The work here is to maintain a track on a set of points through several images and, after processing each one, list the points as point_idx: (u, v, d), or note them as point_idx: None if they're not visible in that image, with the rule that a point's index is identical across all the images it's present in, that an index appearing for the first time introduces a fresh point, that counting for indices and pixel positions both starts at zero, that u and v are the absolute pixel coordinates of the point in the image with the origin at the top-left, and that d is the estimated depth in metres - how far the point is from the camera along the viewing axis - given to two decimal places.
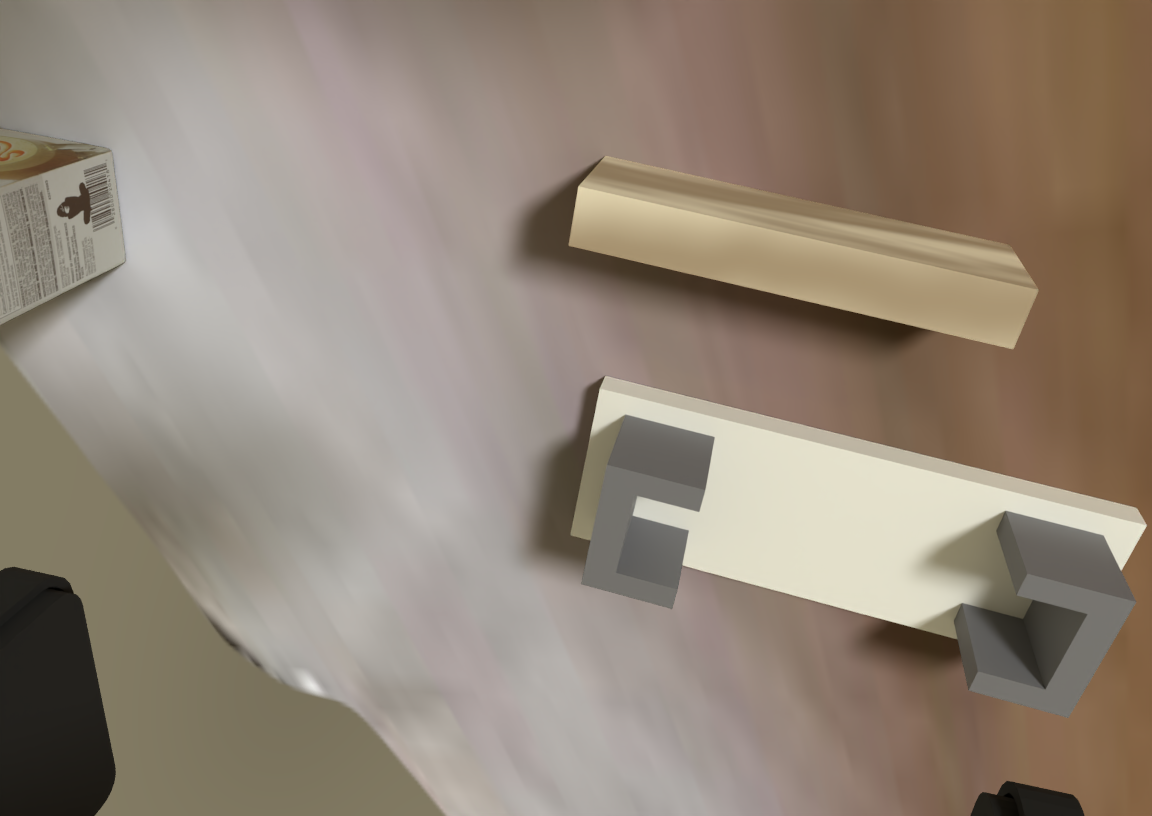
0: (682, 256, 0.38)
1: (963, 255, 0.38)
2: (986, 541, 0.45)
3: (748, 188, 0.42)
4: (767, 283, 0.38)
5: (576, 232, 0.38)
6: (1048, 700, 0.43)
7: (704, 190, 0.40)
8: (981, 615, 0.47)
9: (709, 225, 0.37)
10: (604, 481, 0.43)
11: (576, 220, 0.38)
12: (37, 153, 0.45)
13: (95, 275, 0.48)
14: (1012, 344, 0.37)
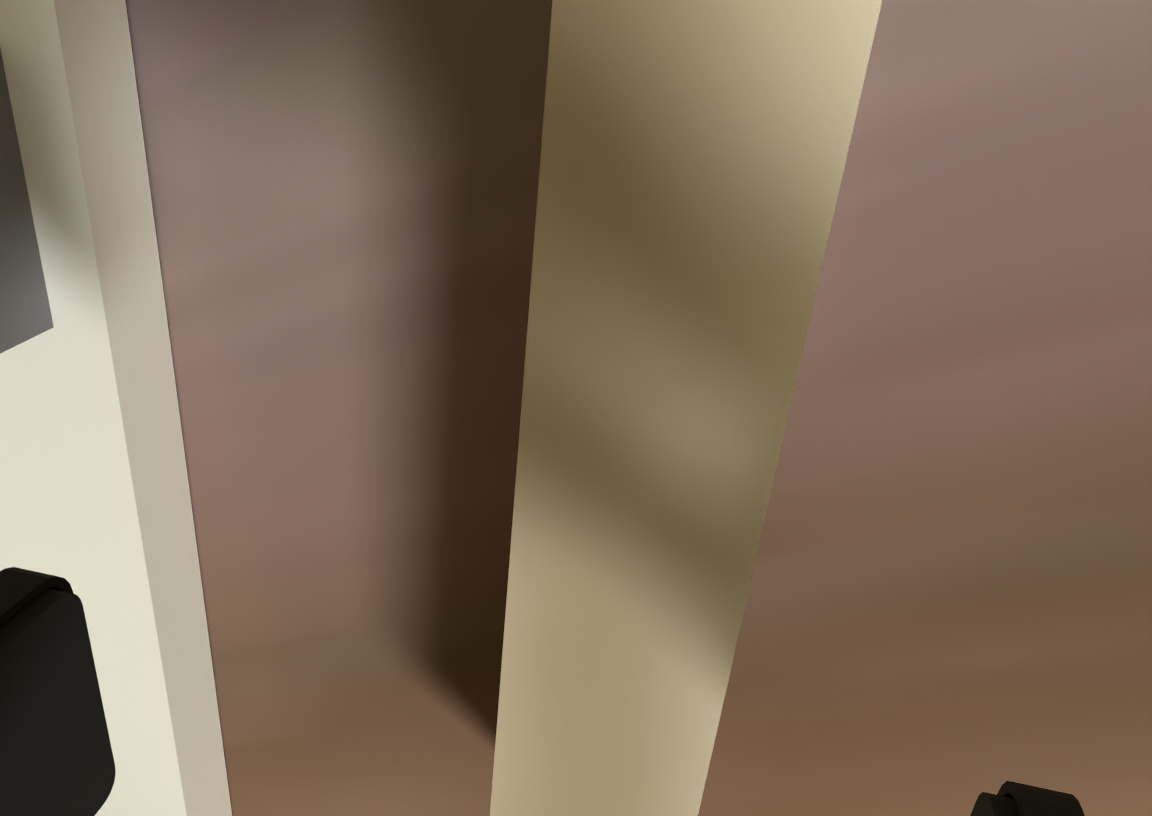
0: (594, 334, 0.09)
1: None
2: None
3: None
4: (535, 625, 0.10)
5: None
6: None
7: None
8: None
9: (740, 438, 0.09)
10: None
11: None
12: None
13: None
14: None
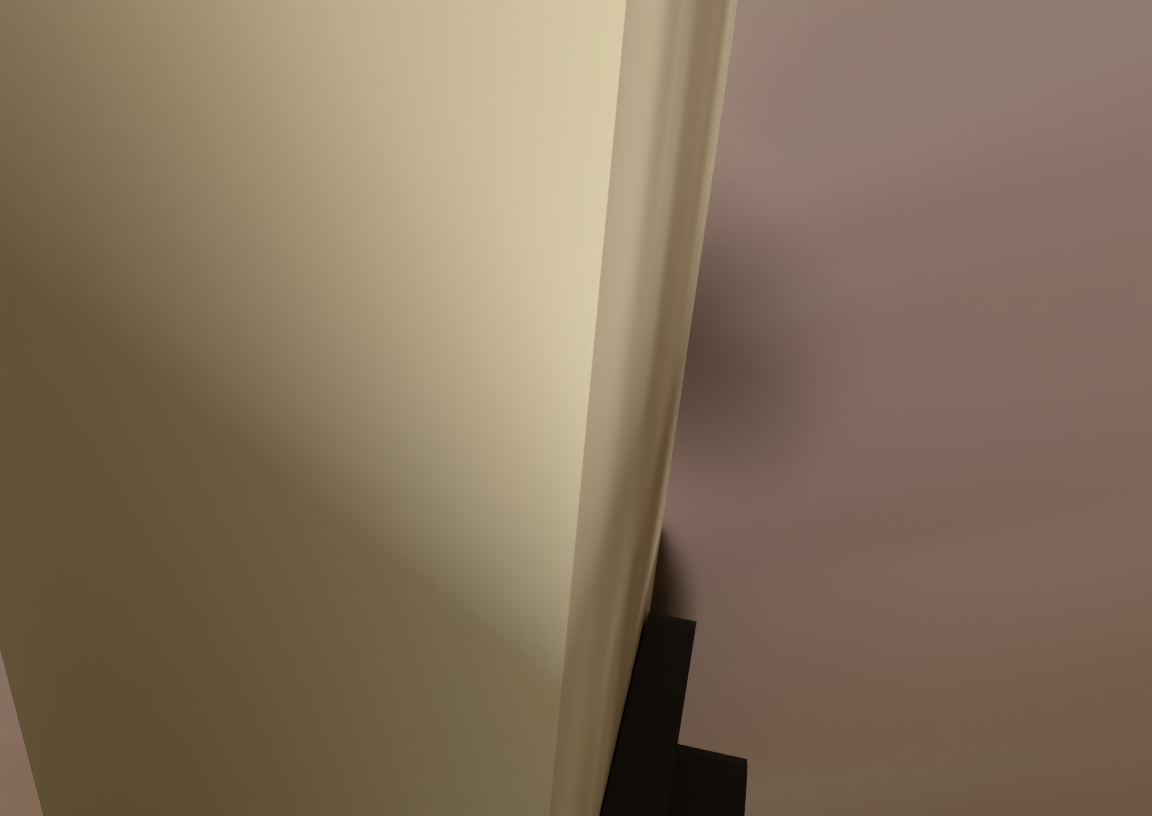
0: (146, 757, 0.04)
1: None
2: None
3: (661, 520, 0.10)
4: None
5: None
6: None
7: (656, 463, 0.07)
8: None
9: None
10: None
11: None
12: None
13: None
14: None
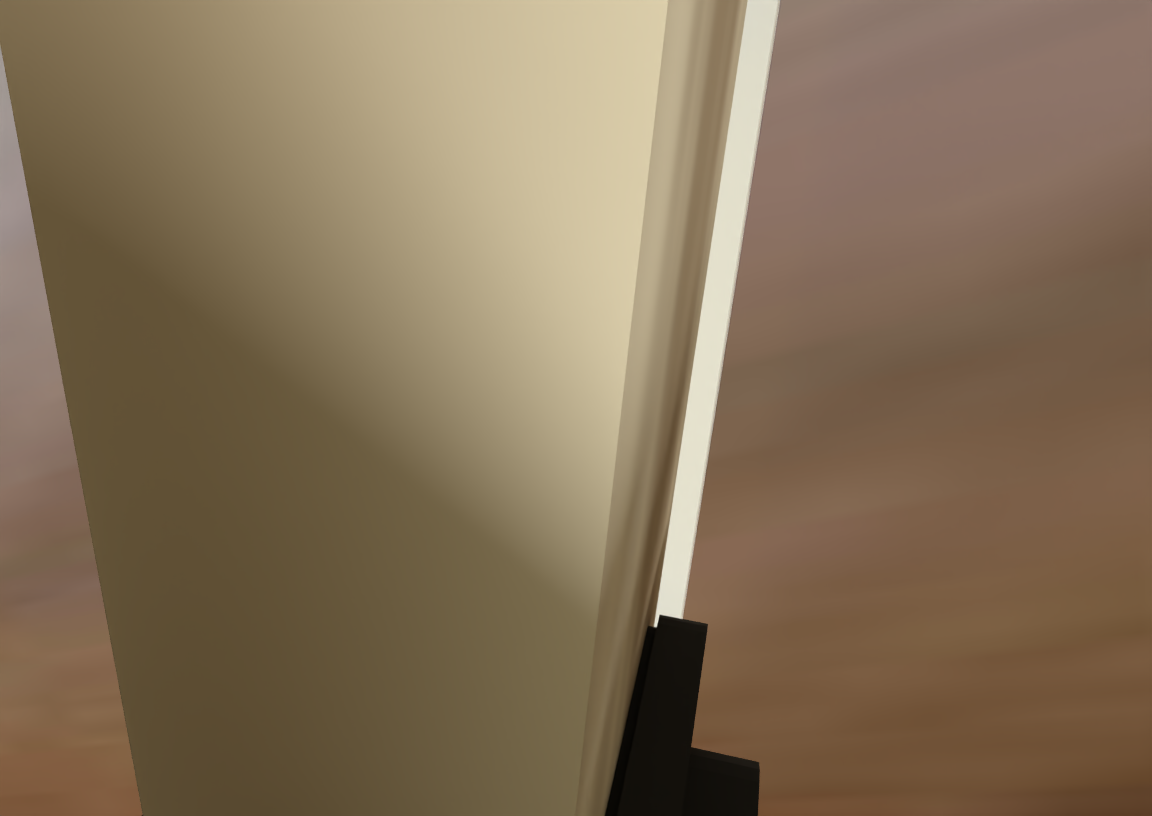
0: (224, 657, 0.05)
1: None
2: None
3: (673, 487, 0.10)
4: None
5: None
6: None
7: (672, 422, 0.08)
8: None
9: None
10: None
11: None
12: None
13: None
14: None
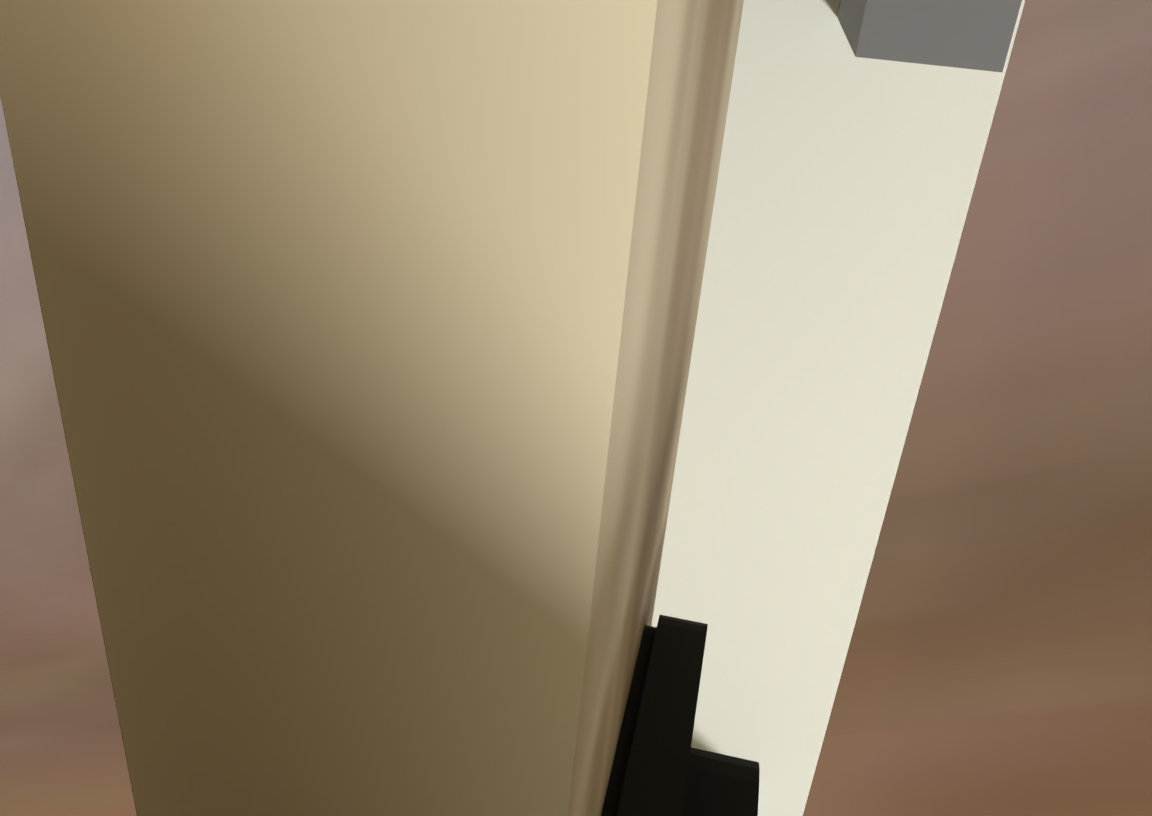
0: (217, 659, 0.05)
1: None
2: None
3: (670, 488, 0.10)
4: None
5: None
6: None
7: (667, 423, 0.08)
8: None
9: None
10: None
11: None
12: None
13: None
14: None
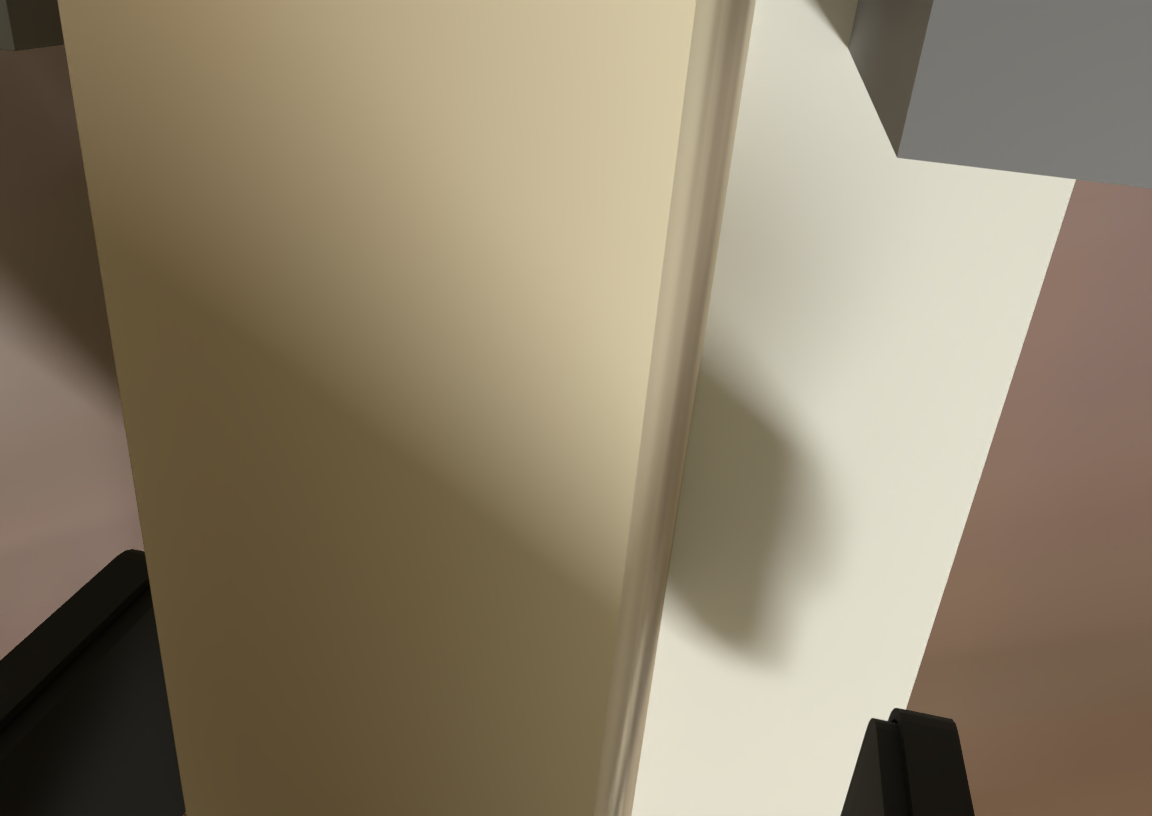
0: (263, 628, 0.05)
1: None
2: None
3: (682, 475, 0.10)
4: None
5: None
6: None
7: (683, 409, 0.08)
8: None
9: (526, 791, 0.05)
10: None
11: None
12: None
13: None
14: None
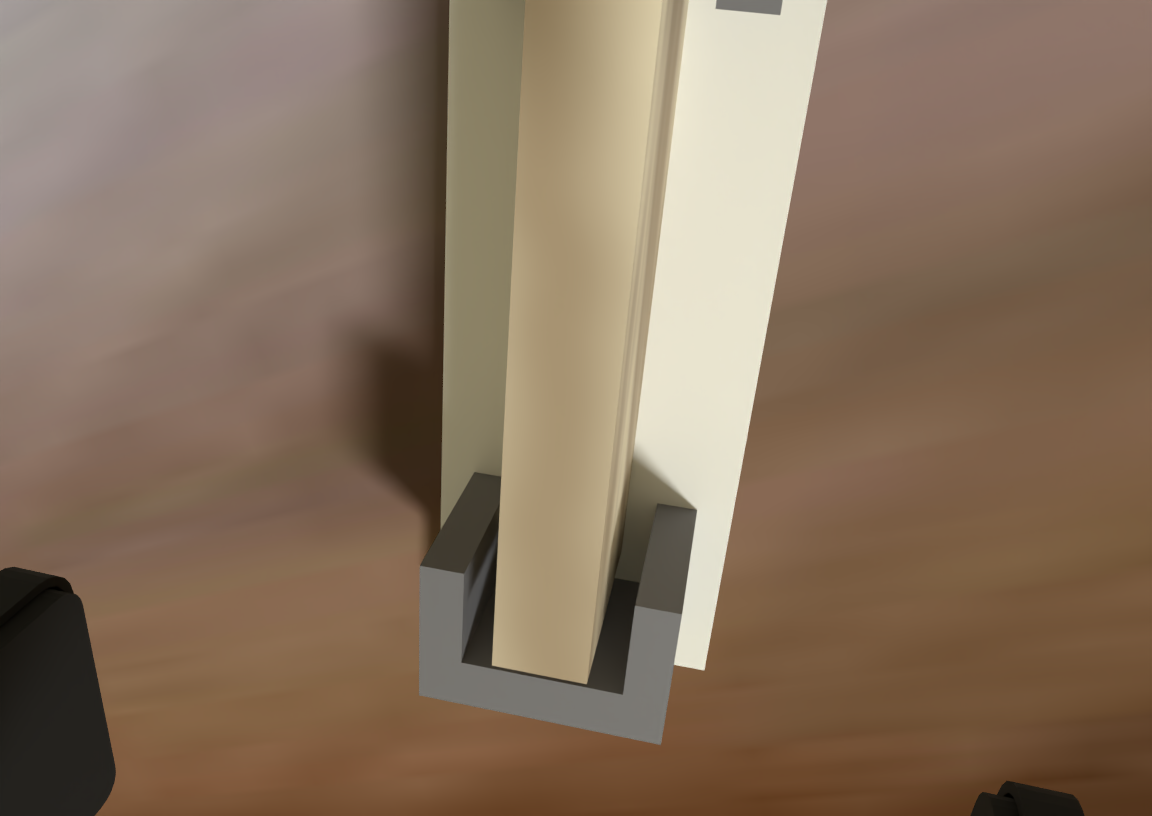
0: (550, 143, 0.18)
1: (611, 550, 0.25)
2: (634, 493, 0.28)
3: (664, 188, 0.24)
4: (525, 312, 0.20)
5: None
6: (442, 668, 0.26)
7: (664, 129, 0.21)
8: None
9: (622, 191, 0.18)
10: None
11: None
12: None
13: None
14: (498, 663, 0.24)
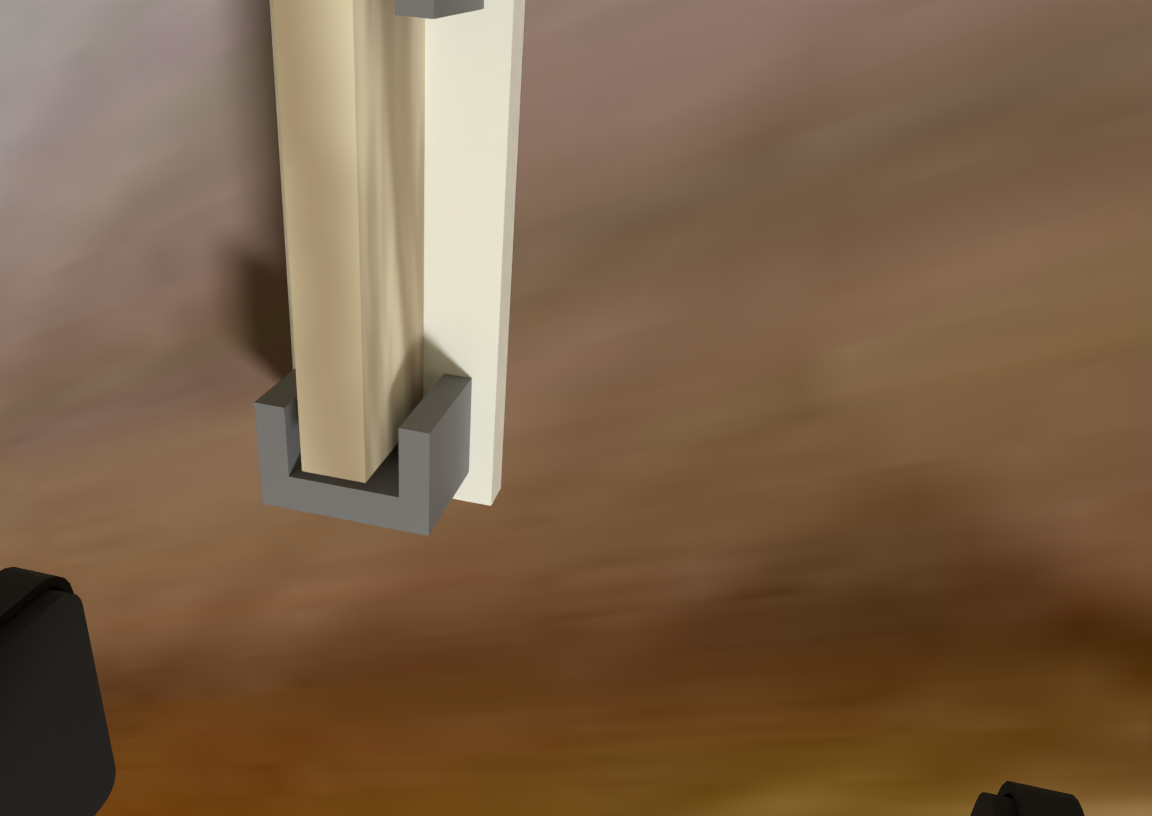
0: (298, 99, 0.29)
1: (390, 394, 0.36)
2: (427, 366, 0.39)
3: (420, 138, 0.34)
4: (295, 212, 0.30)
5: None
6: (276, 482, 0.37)
7: (400, 94, 0.32)
8: None
9: (344, 131, 0.29)
10: None
11: None
12: None
13: None
14: (306, 469, 0.35)
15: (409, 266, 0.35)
